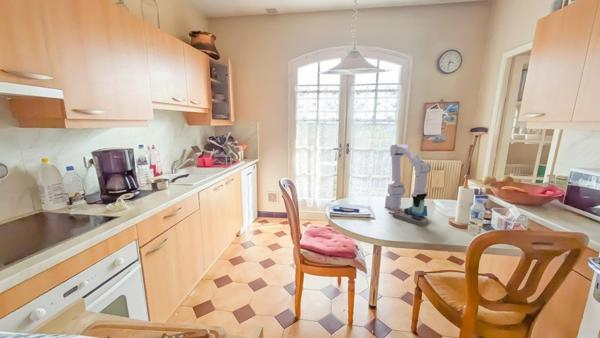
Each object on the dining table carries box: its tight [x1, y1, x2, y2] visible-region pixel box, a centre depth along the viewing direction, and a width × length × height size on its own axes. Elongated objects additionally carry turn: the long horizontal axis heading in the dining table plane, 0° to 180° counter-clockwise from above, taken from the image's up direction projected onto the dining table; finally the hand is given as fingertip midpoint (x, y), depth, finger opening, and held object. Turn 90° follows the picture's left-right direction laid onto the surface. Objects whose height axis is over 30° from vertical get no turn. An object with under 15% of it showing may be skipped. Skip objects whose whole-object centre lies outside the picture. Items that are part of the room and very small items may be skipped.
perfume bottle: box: [403, 205, 428, 217], centre depth 150 cm, size 6×6×12 cm
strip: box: [388, 210, 429, 227], centre depth 148 cm, size 22×7×3 cm, turn 41°
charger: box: [411, 199, 425, 214], centre depth 142 cm, size 5×4×7 cm
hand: (418, 205), depth 142 cm, fingers closed on charger, 4 cm apart
